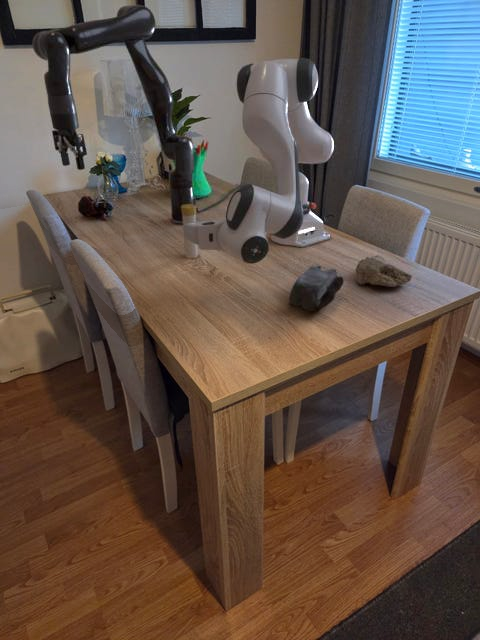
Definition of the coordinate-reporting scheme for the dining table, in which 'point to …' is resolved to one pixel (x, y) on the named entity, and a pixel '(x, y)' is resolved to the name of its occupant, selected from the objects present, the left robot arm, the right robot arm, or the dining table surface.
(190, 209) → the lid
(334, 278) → the rock
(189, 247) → the white tall cylinder
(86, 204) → the toy
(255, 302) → the dining table surface
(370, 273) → the artifact
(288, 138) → the right robot arm
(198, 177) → the toy
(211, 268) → the dining table surface
